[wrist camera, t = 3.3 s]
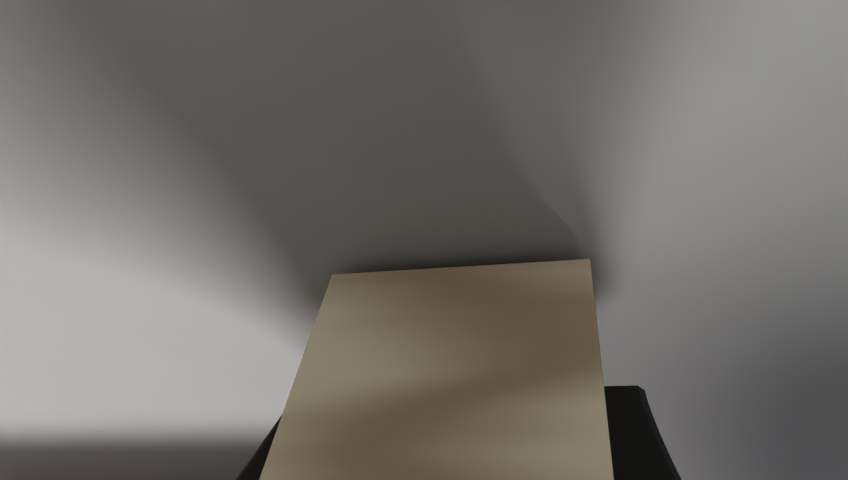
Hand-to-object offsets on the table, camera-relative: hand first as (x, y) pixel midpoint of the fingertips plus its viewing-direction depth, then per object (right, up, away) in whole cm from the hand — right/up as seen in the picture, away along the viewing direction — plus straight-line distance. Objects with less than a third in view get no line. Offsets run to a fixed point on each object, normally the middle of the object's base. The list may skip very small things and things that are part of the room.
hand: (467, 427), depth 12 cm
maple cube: (0, +1, +1) cm, 2 cm away
